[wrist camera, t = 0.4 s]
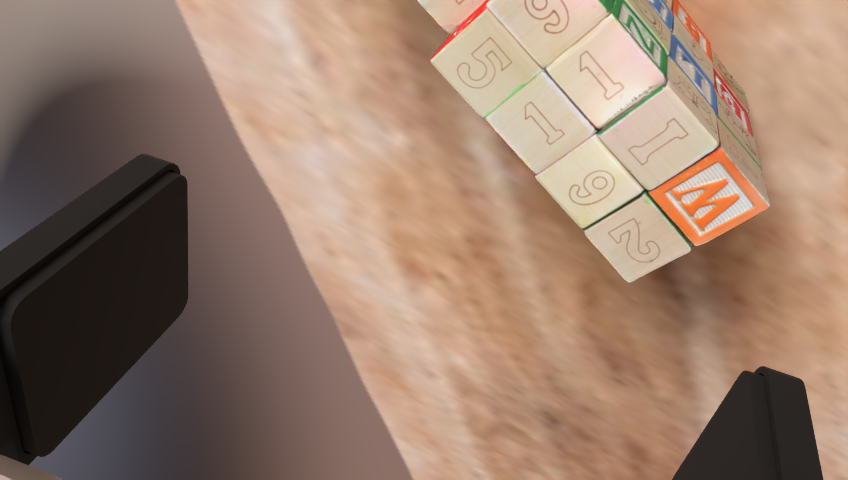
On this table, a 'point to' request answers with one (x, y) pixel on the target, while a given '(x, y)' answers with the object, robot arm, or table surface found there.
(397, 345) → the table surface
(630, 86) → the stack of blocks
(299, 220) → the table surface
